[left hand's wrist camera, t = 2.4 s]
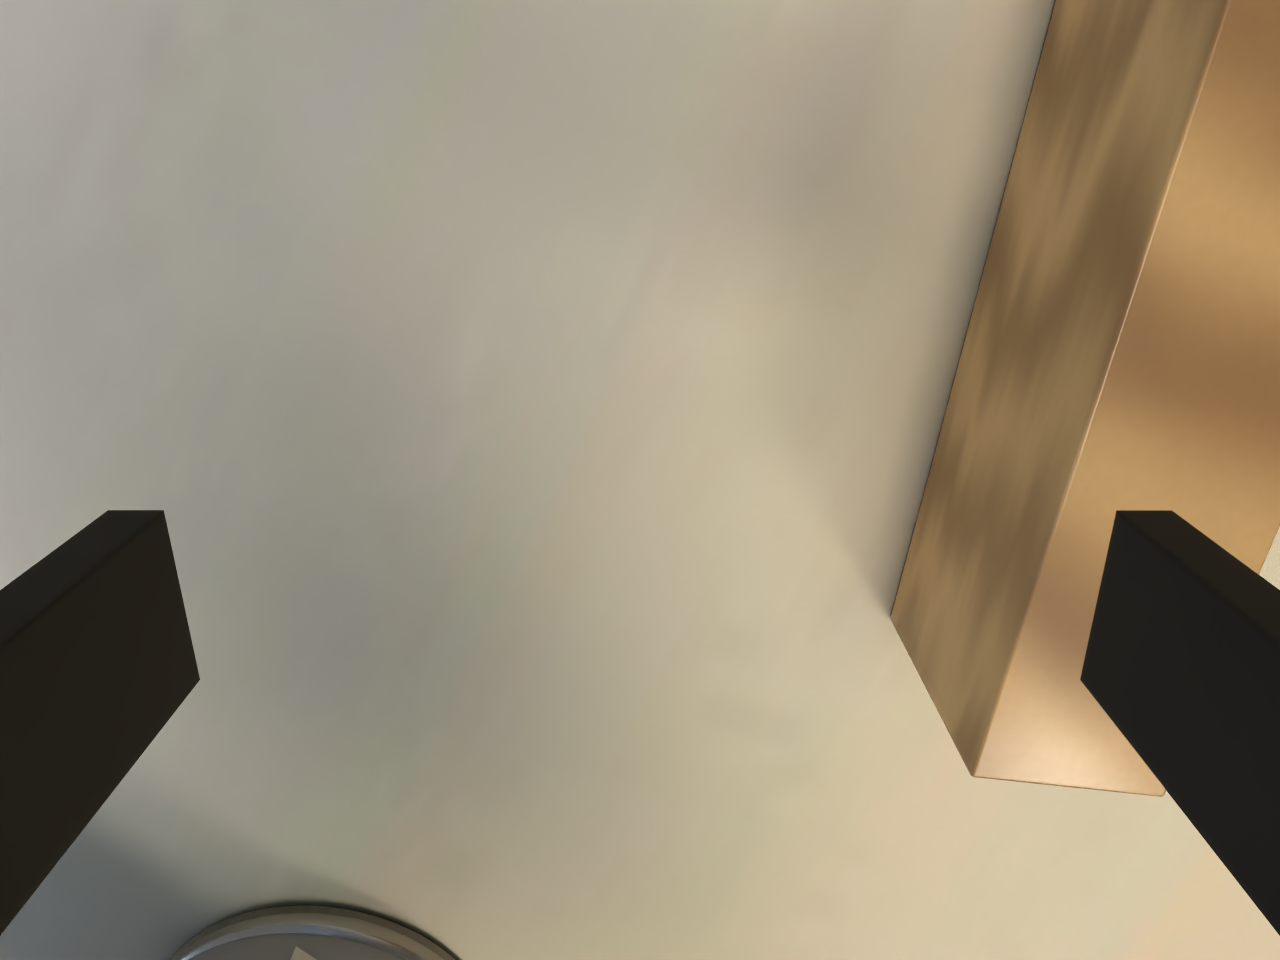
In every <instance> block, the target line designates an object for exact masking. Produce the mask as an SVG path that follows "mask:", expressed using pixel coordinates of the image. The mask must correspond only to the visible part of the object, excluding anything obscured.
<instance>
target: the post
mask: <svg viewBox="0 0 1280 960" xmlns="http://www.w3.org/2000/svg"><path fill="white" fill-rule="evenodd" d="M1116 510H1172V511H1173V512H1175V513H1176V514H1177V515H1179V516H1180V517H1182V518H1183V519H1184V520H1186V521H1187V522H1188V523H1190V524H1191V525H1192V526H1194V527H1195V528H1196V529H1198V530H1199V531H1200V532H1202V533H1203V534H1204V535H1206V536H1207V537H1208V538H1210V539H1211V540H1213V541H1214V542H1215V543H1217V544H1218V545H1219V546H1221V547H1222V548H1223V549H1225V550H1226V551H1227V552H1229V553H1230V554H1231V555H1233V556H1234V557H1235V558H1237V559H1238V560H1239V561H1241V562H1242V563H1244V564H1245V565H1246V566H1248V567H1249V568H1250V569H1252V570H1253V571H1254V572H1256V573H1257V574H1258V575H1259V573H1260V570H1261V568H1262V566H1263V563H1264V561H1265V559H1266V556H1267V554H1268V552H1269V549H1270V547H1271V545H1272V542H1273V540H1274V538H1275V535H1276V533H1277V531H1278V529H1279V526H1280V0H1056V2H1055V6H1054V10H1053V13H1052V17H1051V21H1050V24H1049V28H1048V32H1047V36H1046V39H1045V43H1044V47H1043V51H1042V54H1041V58H1040V62H1039V66H1038V69H1037V73H1036V77H1035V81H1034V84H1033V88H1032V92H1031V95H1030V99H1029V103H1028V107H1027V110H1026V114H1025V118H1024V122H1023V125H1022V129H1021V133H1020V137H1019V140H1018V144H1017V148H1016V152H1015V155H1014V159H1013V163H1012V166H1011V170H1010V174H1009V178H1008V181H1007V185H1006V189H1005V193H1004V196H1003V200H1002V204H1001V208H1000V211H999V215H998V219H997V222H996V226H995V230H994V234H993V237H992V241H991V245H990V249H989V252H988V256H987V260H986V264H985V267H984V271H983V275H982V279H981V282H980V286H979V290H978V293H977V297H976V301H975V305H974V308H973V312H972V316H971V320H970V323H969V327H968V331H967V335H966V338H965V342H964V346H963V350H962V353H961V357H960V361H959V364H958V368H957V372H956V376H955V379H954V383H953V387H952V391H951V394H950V398H949V402H948V406H947V409H946V413H945V417H944V421H943V424H942V428H941V432H940V435H939V439H938V443H937V447H936V450H935V454H934V458H933V462H932V465H931V469H930V473H929V477H928V480H927V484H926V488H925V491H924V495H923V499H922V503H921V506H920V510H919V514H918V518H917V521H916V525H915V529H914V533H913V536H912V540H911V544H910V548H909V551H908V555H907V559H906V562H905V566H904V570H903V574H902V577H901V581H900V585H899V589H898V592H897V596H896V600H895V604H894V607H893V611H892V615H891V621H892V623H893V625H894V627H895V629H896V631H897V633H898V635H899V636H900V638H901V640H902V642H903V644H904V646H905V648H906V650H907V652H908V654H909V656H910V658H911V660H912V662H913V664H914V666H915V668H916V670H917V671H918V673H919V675H920V677H921V679H922V681H923V683H924V685H925V687H926V689H927V691H928V693H929V695H930V697H931V699H932V701H933V703H934V705H935V706H936V708H937V710H938V712H939V714H940V716H941V718H942V720H943V722H944V724H945V726H946V728H947V730H948V732H949V734H950V736H951V738H952V740H953V742H954V743H955V745H956V747H957V749H958V751H959V753H960V755H961V757H962V759H963V761H964V763H965V765H966V767H967V769H968V771H969V773H970V775H971V776H973V777H980V778H989V779H999V780H1008V781H1018V782H1027V783H1037V784H1046V785H1056V786H1065V787H1075V788H1084V789H1094V790H1103V791H1113V792H1122V793H1132V794H1141V795H1151V796H1160V797H1161V796H1163V795H1164V794H1165V791H1166V789H1165V788H1164V787H1163V785H1162V784H1161V783H1160V781H1159V780H1158V779H1157V778H1156V776H1155V775H1154V774H1153V772H1152V771H1151V770H1150V769H1149V767H1148V766H1147V765H1146V763H1145V762H1144V761H1143V760H1142V758H1141V757H1140V756H1139V754H1138V753H1137V752H1136V751H1135V749H1134V748H1133V747H1132V746H1131V744H1130V743H1129V742H1128V740H1127V739H1126V738H1125V737H1124V735H1123V734H1122V733H1121V731H1120V730H1119V729H1118V728H1117V726H1116V725H1115V724H1114V722H1113V721H1112V720H1111V719H1110V717H1109V716H1108V715H1107V713H1106V712H1105V711H1104V710H1103V708H1102V707H1101V706H1100V705H1099V703H1098V702H1097V701H1096V699H1095V698H1094V697H1093V696H1092V694H1091V693H1090V692H1089V690H1088V689H1087V688H1086V687H1085V685H1084V684H1083V683H1082V681H1081V680H1080V678H1081V673H1082V668H1083V664H1084V659H1085V654H1086V650H1087V645H1088V640H1089V636H1090V631H1091V626H1092V622H1093V617H1094V612H1095V608H1096V603H1097V598H1098V594H1099V589H1100V584H1101V580H1102V575H1103V570H1104V566H1105V561H1106V556H1107V552H1108V547H1109V542H1110V538H1111V533H1112V528H1113V524H1114V519H1115V514H1116Z"/></svg>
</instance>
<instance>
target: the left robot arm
mask: <svg viewBox="0 0 1280 960" xmlns="http://www.w3.org/2000/svg"><path fill="white" fill-rule="evenodd" d="M199 680H200V678H199V673H198V668H197V664H196V659H195V654H194V650H193V645H192V640H191V636H190V631H189V626H188V622H187V617H186V612H185V608H184V603H183V598H182V594H181V589H180V584H179V580H178V575H177V570H176V566H175V561H174V556H173V552H172V547H171V542H170V538H169V533H168V528H167V524H166V519H165V514H164V510H108V511H107V512H105V513H104V514H103V515H101V516H100V517H98V518H97V519H96V520H94V521H93V522H92V523H90V524H89V525H88V526H86V527H85V528H84V529H82V530H81V531H80V532H78V533H77V534H76V535H74V536H73V537H72V538H70V539H69V540H67V541H66V542H65V543H63V544H62V545H61V546H59V547H58V548H57V549H55V550H54V551H53V552H51V553H50V554H49V555H47V556H46V557H45V558H43V559H42V560H41V561H39V562H38V563H36V564H35V565H34V566H32V567H31V568H30V569H28V570H27V571H26V572H24V573H23V574H22V575H20V576H19V577H18V578H16V579H15V580H14V581H12V582H11V583H10V584H8V585H7V586H5V587H4V588H3V589H1V590H0V935H1V934H2V933H3V931H4V930H5V929H6V927H7V926H8V925H9V924H10V922H11V921H12V920H13V919H14V917H15V916H16V915H17V913H18V912H19V911H20V910H21V908H22V907H23V906H24V904H25V903H26V902H27V901H28V899H29V898H30V897H31V895H32V894H33V893H34V892H35V890H36V889H37V888H38V886H39V885H40V884H41V883H42V881H43V880H44V879H45V878H46V876H47V875H48V874H49V872H50V871H51V870H52V869H53V867H54V866H55V865H56V863H57V862H58V861H59V860H60V858H61V857H62V856H63V854H64V853H65V852H66V851H67V849H68V848H69V847H70V845H71V844H72V843H73V842H74V840H75V839H76V838H77V837H78V835H79V834H80V833H81V831H82V830H83V829H84V828H85V826H86V825H87V824H88V822H89V821H90V820H91V819H92V817H93V816H94V815H95V813H96V812H97V811H98V810H99V808H100V807H101V806H102V804H103V803H104V802H105V801H106V799H107V798H108V797H109V796H110V794H111V793H112V792H113V790H114V789H115V788H116V787H117V785H118V784H119V783H120V781H121V780H122V779H123V778H124V776H125V775H126V774H127V772H128V771H129V770H130V769H131V767H132V766H133V765H134V763H135V762H136V761H137V760H138V758H139V757H140V756H141V755H142V753H143V752H144V751H145V749H146V748H147V747H148V746H149V744H150V743H151V742H152V740H153V739H154V738H155V737H156V735H157V734H158V733H159V731H160V730H161V729H162V728H163V726H164V725H165V724H166V722H167V721H168V720H169V719H170V717H171V716H172V715H173V713H174V712H175V711H176V710H177V708H178V707H179V706H180V705H181V703H182V702H183V701H184V699H185V698H186V697H187V696H188V694H189V693H190V692H191V690H192V689H193V688H194V687H195V685H196V684H197V683H198V681H199ZM1080 680H1081V681H1082V683H1083V684H1084V685H1085V687H1086V688H1087V689H1088V690H1089V692H1090V693H1091V694H1092V696H1093V697H1094V698H1095V699H1096V701H1097V702H1098V703H1099V705H1100V706H1101V707H1102V708H1103V710H1104V711H1105V712H1106V713H1107V715H1108V716H1109V717H1110V719H1111V720H1112V721H1113V722H1114V724H1115V725H1116V726H1117V728H1118V729H1119V730H1120V731H1121V733H1122V734H1123V735H1124V737H1125V738H1126V739H1127V740H1128V742H1129V743H1130V744H1131V746H1132V747H1133V748H1134V749H1135V751H1136V752H1137V753H1138V754H1139V756H1140V757H1141V758H1142V760H1143V761H1144V762H1145V763H1146V765H1147V766H1148V767H1149V769H1150V770H1151V771H1152V772H1153V774H1154V775H1155V776H1156V778H1157V779H1158V780H1159V781H1160V783H1161V784H1162V785H1163V787H1164V788H1165V789H1166V790H1167V792H1168V793H1169V794H1170V796H1171V797H1172V798H1173V799H1174V801H1175V802H1176V803H1177V804H1178V806H1179V807H1180V808H1181V810H1182V811H1183V812H1184V813H1185V815H1186V816H1187V817H1188V819H1189V820H1190V821H1191V822H1192V824H1193V825H1194V826H1195V828H1196V829H1197V830H1198V831H1199V833H1200V834H1201V835H1202V837H1203V838H1204V839H1205V840H1206V842H1207V843H1208V844H1209V845H1210V847H1211V848H1212V849H1213V851H1214V852H1215V853H1216V854H1217V856H1218V857H1219V858H1220V860H1221V861H1222V862H1223V863H1224V865H1225V866H1226V867H1227V869H1228V870H1229V871H1230V872H1231V874H1232V875H1233V876H1234V878H1235V879H1236V880H1237V881H1238V883H1239V884H1240V885H1241V886H1242V888H1243V889H1244V890H1245V892H1246V893H1247V894H1248V895H1249V897H1250V898H1251V899H1252V901H1253V902H1254V903H1255V904H1256V906H1257V907H1258V908H1259V910H1260V911H1261V912H1262V913H1263V915H1264V916H1265V917H1266V919H1267V920H1268V921H1269V922H1270V924H1271V925H1272V926H1273V927H1274V929H1275V930H1276V931H1277V933H1278V934H1279V935H1280V590H1279V589H1277V588H1276V587H1275V586H1273V585H1272V584H1270V583H1269V582H1268V581H1266V580H1265V579H1264V578H1262V577H1261V576H1260V575H1258V574H1257V573H1256V572H1254V571H1253V570H1252V569H1250V568H1249V567H1248V566H1246V565H1245V564H1244V563H1242V562H1241V561H1239V560H1238V559H1237V558H1235V557H1234V556H1233V555H1231V554H1230V553H1229V552H1227V551H1226V550H1225V549H1223V548H1222V547H1221V546H1219V545H1218V544H1217V543H1215V542H1214V541H1213V540H1211V539H1210V538H1208V537H1207V536H1206V535H1204V534H1203V533H1202V532H1200V531H1199V530H1198V529H1196V528H1195V527H1194V526H1192V525H1191V524H1190V523H1188V522H1187V521H1186V520H1184V519H1183V518H1182V517H1180V516H1179V515H1177V514H1176V513H1175V512H1173V511H1172V510H1116V514H1115V519H1114V524H1113V528H1112V533H1111V538H1110V542H1109V547H1108V552H1107V556H1106V561H1105V566H1104V570H1103V575H1102V580H1101V584H1100V589H1099V594H1098V598H1097V603H1096V608H1095V612H1094V617H1093V622H1092V626H1091V631H1090V636H1089V640H1088V645H1087V650H1086V654H1085V659H1084V664H1083V668H1082V673H1081V678H1080ZM170 960H455V959H454V958H453V957H452V956H450V955H449V954H448V953H447V952H445V951H444V950H443V949H441V948H440V947H439V946H437V945H436V944H434V943H433V942H431V941H430V940H428V939H426V938H425V937H423V936H421V935H419V934H417V933H415V932H414V931H412V930H410V929H408V928H405V927H403V926H401V925H398V924H396V923H394V922H391V921H388V920H385V919H382V918H379V917H377V916H373V915H369V914H366V913H362V912H358V911H353V910H347V909H342V908H334V907H325V906H306V905H301V906H282V907H273V908H266V909H261V910H256V911H251V912H247V913H244V914H240V915H237V916H234V917H231V918H228V919H226V920H223V921H221V922H219V923H217V924H215V925H213V926H211V927H208V928H207V929H205V930H203V931H202V932H200V933H199V934H197V935H195V936H194V937H193V938H191V939H190V940H189V941H188V942H186V943H185V944H184V945H183V946H182V947H181V948H180V949H179V950H178V951H177V952H176V953H175V954H174V955H173V956H172V958H171V959H170Z"/></svg>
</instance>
